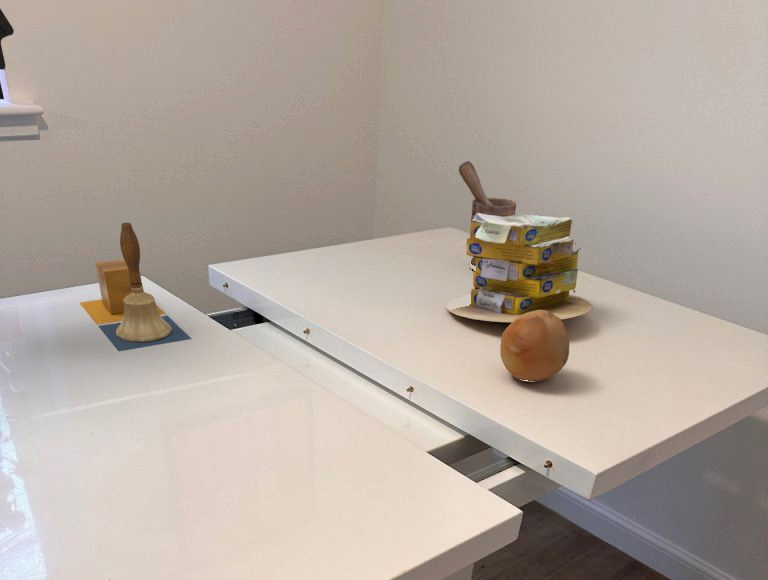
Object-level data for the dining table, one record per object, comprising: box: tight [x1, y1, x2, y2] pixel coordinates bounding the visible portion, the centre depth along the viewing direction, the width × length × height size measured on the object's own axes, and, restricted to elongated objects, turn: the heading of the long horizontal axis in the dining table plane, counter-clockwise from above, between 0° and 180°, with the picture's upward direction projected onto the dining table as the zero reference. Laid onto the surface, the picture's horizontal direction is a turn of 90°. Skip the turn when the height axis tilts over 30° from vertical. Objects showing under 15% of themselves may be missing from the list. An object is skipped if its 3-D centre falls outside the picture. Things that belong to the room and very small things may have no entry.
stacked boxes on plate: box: [447, 211, 593, 323], centre depth 122 cm, size 25×25×17 cm
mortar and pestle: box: [458, 160, 517, 266], centre depth 142 cm, size 12×9×20 cm
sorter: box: [79, 298, 192, 352], centre depth 114 cm, size 23×11×1 cm, turn 33°
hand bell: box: [116, 222, 172, 342], centre depth 106 cm, size 8×8×16 cm
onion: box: [499, 310, 570, 382], centre depth 102 cm, size 10×10×10 cm
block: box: [95, 259, 132, 315], centre depth 116 cm, size 5×5×7 cm
